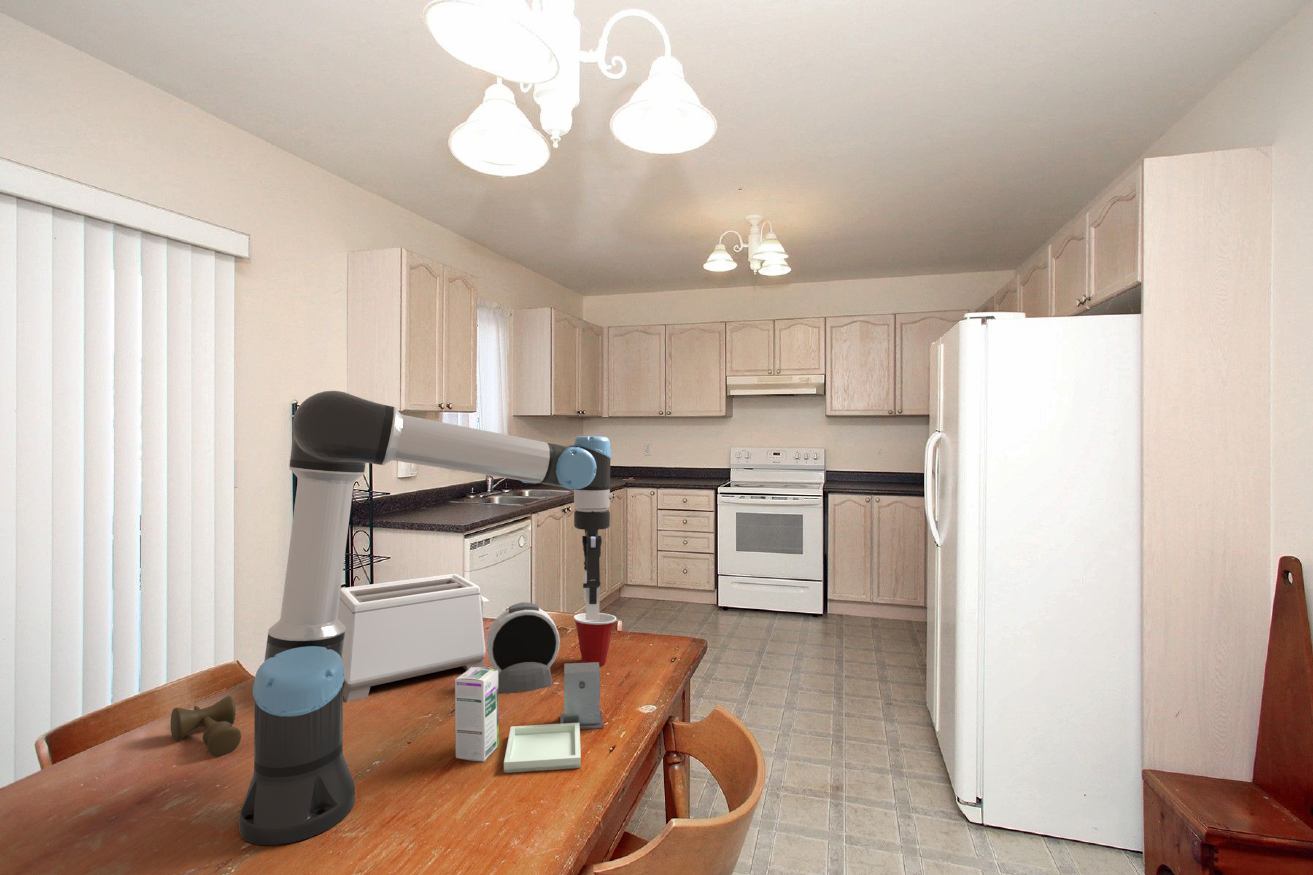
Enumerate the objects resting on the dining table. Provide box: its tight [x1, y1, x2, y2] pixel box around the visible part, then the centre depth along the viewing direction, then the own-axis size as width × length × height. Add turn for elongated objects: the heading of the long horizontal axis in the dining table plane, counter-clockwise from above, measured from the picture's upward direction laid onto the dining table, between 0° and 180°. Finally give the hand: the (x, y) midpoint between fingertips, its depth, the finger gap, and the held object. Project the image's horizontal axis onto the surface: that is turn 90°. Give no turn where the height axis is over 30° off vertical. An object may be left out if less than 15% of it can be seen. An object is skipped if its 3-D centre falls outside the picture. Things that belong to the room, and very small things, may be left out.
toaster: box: [337, 573, 490, 703], centre depth 150 cm, size 19×34×21 cm, turn 127°
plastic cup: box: [573, 612, 617, 668], centre depth 156 cm, size 11×11×12 cm
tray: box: [503, 723, 582, 774], centre depth 113 cm, size 13×13×2 cm
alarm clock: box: [486, 601, 561, 693], centre depth 143 cm, size 16×10×18 cm, turn 109°
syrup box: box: [454, 666, 500, 763], centre depth 112 cm, size 6×6×14 cm
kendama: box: [170, 695, 242, 758], centre depth 116 cm, size 6×10×20 cm
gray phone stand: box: [559, 662, 604, 730], centre depth 124 cm, size 8×6×11 cm
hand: (591, 609), depth 131 cm, fingers open, 13 cm apart
